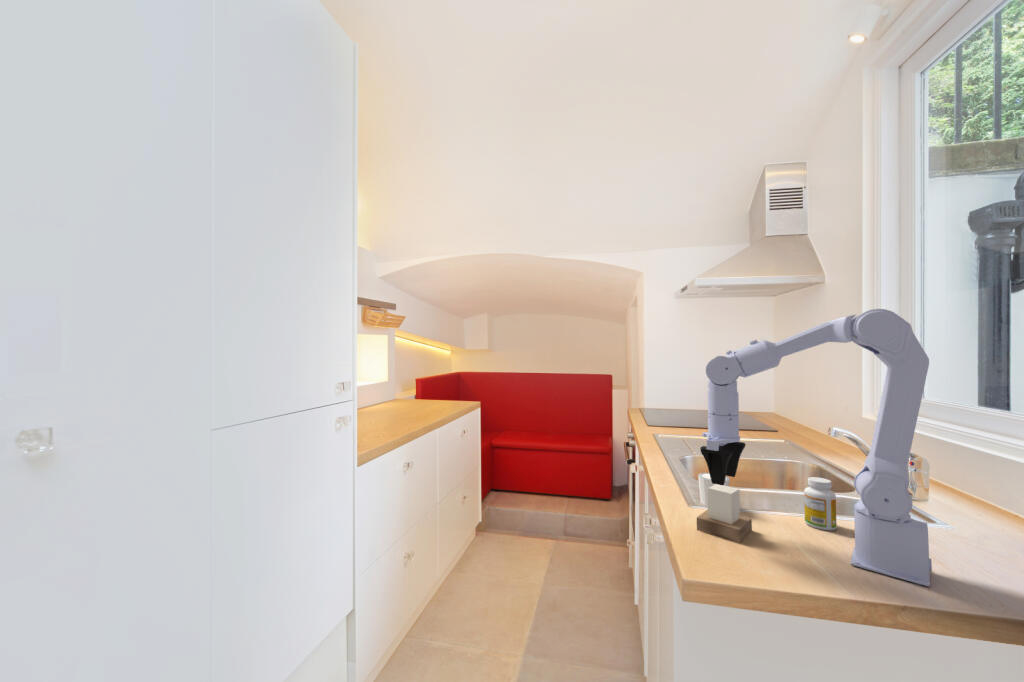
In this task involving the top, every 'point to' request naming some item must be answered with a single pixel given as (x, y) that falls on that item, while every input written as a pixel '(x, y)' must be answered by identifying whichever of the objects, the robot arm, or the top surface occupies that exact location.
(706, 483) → the white cup
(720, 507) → the cream block
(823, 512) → the supplement bottle
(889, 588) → the top surface
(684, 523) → the top surface
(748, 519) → the walnut block
